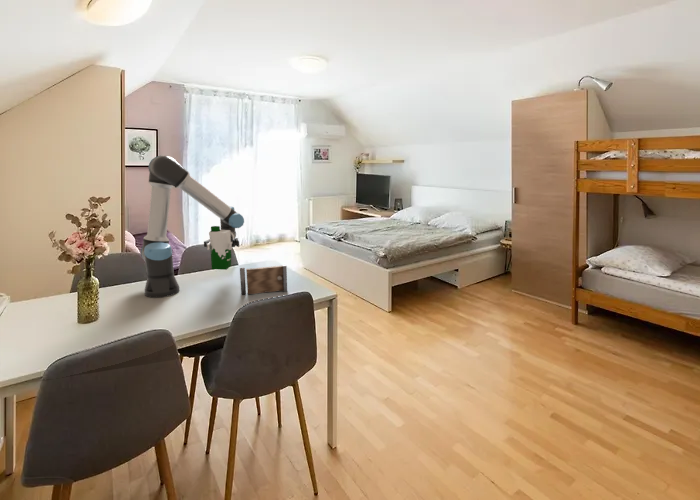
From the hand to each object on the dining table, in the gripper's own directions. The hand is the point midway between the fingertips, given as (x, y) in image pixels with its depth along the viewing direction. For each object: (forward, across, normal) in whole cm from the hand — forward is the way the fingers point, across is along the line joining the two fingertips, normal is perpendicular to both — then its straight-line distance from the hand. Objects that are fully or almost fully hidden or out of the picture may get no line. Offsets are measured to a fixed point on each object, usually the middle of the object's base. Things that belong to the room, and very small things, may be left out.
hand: (219, 247), depth 186 cm
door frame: (+2, -20, -22) cm, 30 cm away
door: (+2, -22, -22) cm, 31 cm away
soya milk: (-5, 0, -11) cm, 12 cm away
